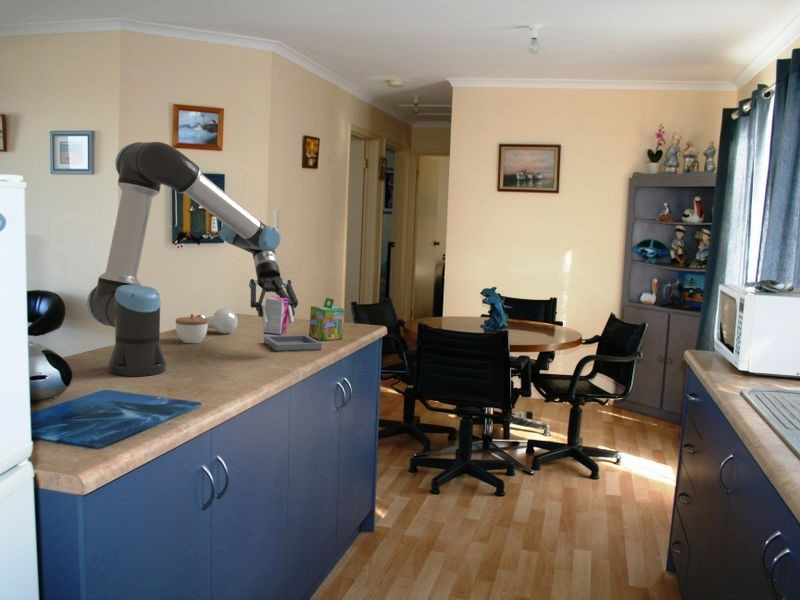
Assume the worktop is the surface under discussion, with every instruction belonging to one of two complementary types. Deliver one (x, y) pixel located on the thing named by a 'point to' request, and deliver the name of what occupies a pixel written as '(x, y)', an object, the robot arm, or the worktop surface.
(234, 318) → the potion bottle
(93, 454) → the worktop surface
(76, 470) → the worktop surface
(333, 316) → the chalk box
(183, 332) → the lidded jar
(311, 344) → the tray
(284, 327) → the supplement box
